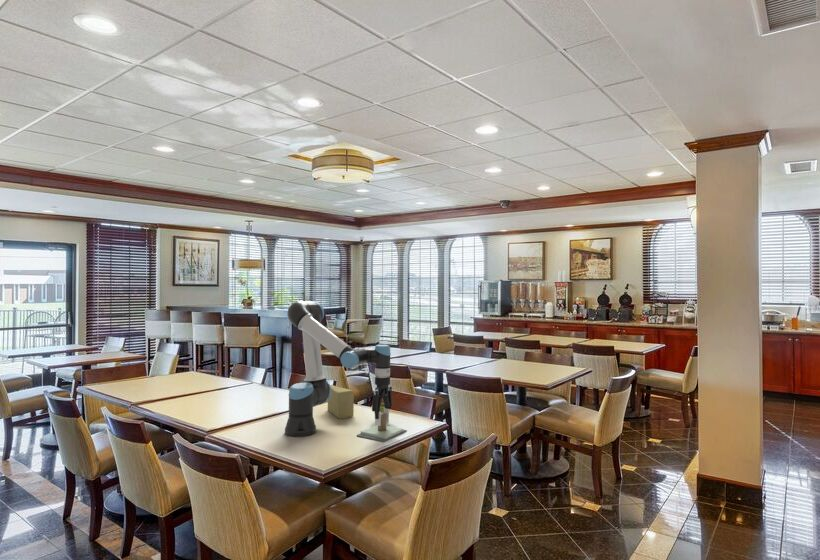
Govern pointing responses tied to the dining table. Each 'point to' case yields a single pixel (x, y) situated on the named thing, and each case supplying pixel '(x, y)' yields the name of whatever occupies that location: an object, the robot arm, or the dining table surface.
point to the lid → (382, 429)
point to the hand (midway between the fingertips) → (382, 423)
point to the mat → (377, 437)
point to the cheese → (341, 402)
